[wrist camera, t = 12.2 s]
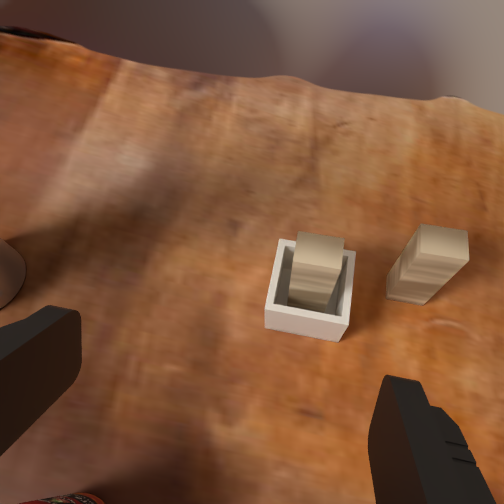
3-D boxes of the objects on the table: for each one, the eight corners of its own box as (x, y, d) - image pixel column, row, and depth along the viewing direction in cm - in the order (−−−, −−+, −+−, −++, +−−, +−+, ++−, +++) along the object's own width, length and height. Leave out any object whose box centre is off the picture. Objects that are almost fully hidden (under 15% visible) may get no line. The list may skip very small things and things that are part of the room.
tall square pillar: (323, 313, 41) (341, 269, 31) (286, 307, 41) (292, 261, 31) (326, 288, 42) (344, 238, 32) (291, 282, 43) (298, 230, 33)
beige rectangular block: (422, 305, 42) (469, 260, 32) (385, 298, 42) (420, 252, 33) (422, 281, 43) (467, 230, 34) (386, 275, 44) (420, 223, 34)
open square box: (337, 342, 40) (348, 325, 35) (264, 327, 41) (264, 309, 36) (345, 276, 44) (356, 251, 39) (277, 264, 45) (279, 238, 40)
